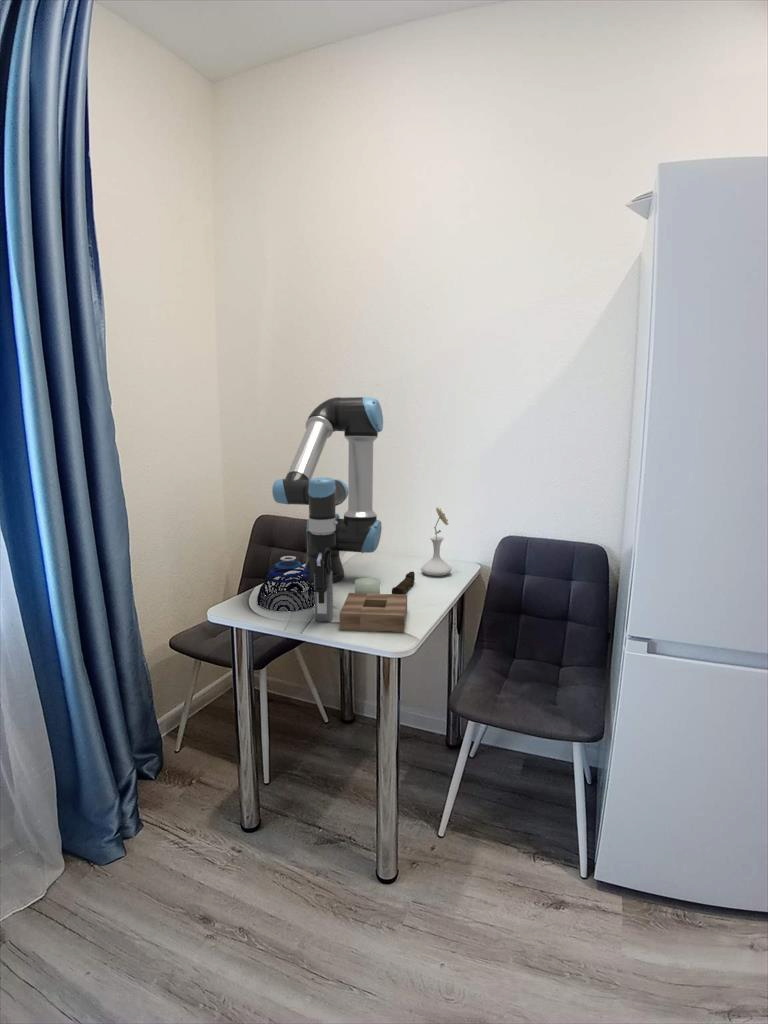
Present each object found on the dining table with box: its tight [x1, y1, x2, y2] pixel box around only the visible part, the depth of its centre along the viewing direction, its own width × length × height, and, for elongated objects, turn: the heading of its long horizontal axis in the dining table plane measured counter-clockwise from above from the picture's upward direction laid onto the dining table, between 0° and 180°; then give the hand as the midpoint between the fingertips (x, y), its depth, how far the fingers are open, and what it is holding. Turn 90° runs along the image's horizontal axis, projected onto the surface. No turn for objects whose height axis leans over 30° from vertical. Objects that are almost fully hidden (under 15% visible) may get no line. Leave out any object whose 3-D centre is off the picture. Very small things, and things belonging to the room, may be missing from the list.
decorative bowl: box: [256, 555, 315, 612], centre depth 183 cm, size 20×20×14 cm
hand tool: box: [391, 570, 416, 594], centre depth 195 cm, size 19×4×5 cm, turn 158°
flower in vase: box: [420, 506, 452, 577], centre depth 213 cm, size 13×11×25 cm
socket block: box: [339, 592, 408, 633], centre depth 167 cm, size 18×18×5 cm
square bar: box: [313, 571, 334, 622], centre depth 167 cm, size 4×4×14 cm
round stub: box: [354, 577, 381, 594], centre depth 182 cm, size 8×8×7 cm
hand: (323, 609), depth 167 cm, fingers closed on square bar, 4 cm apart
